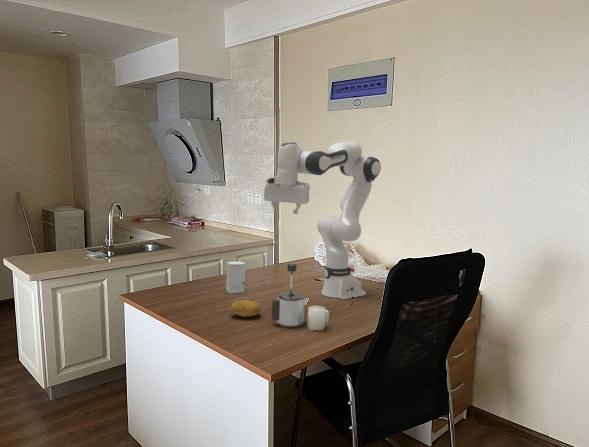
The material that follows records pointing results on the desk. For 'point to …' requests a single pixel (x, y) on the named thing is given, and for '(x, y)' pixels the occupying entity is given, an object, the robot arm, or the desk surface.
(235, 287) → the skincare box
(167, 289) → the desk surface
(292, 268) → the plunger
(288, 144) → the robot arm
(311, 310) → the white ceramic cylinder
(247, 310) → the potato
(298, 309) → the carafe
